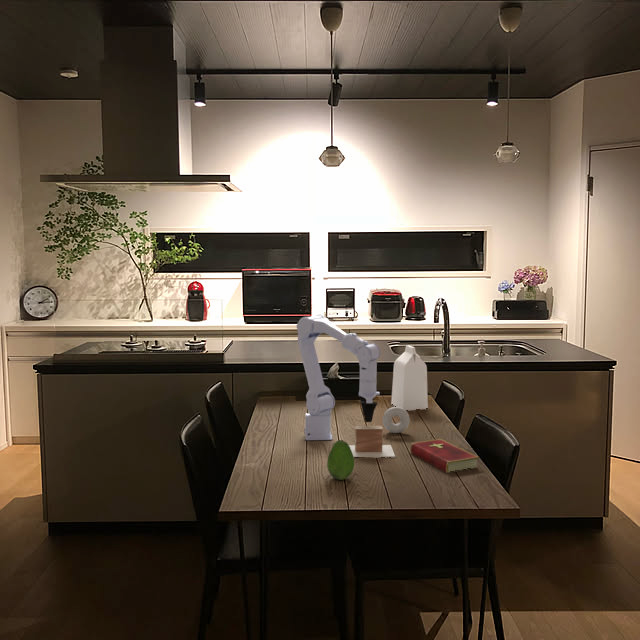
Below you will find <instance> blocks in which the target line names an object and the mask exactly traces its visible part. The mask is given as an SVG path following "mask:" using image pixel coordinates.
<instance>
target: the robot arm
mask: <svg viewBox="0 0 640 640" xmlns="http://www.w3.org/2000/svg"><path fill="white" fill-rule="evenodd" d="M296 330H297V344H298V348H299V349H298V350H299V352H300V356H301V360H302V364H303V367H304V371H305V377H306V379H307V384H308V387H309V388H308V391H307V393H306V395H305V398H306V403H305V404H306V409H307V411H308V412H306V413H305V417H304V418H305V421H304V422H305V423H304V424H305V426H304V430H303V431H304V436H305V438H304V439H305V441H333V436H332V432H331V428H332V426H331V422H332V421H331V418H332V416H331V413H332V409H333V408H334V407H335V404H336V399H335V397H334V396H333V394H332V392H331V389H330V388H329V387H328V386H326V385H325V381H324V379H323V374H322V370H321V366H320V362H319V359H318V355H317V350H316V347H315V342H316V340H317V338H318V337H319V336H321V334H323V333H324V334H325V335H328V336H329V337H331V338H332V339H333V338H334V339H335V340H336V341H339V342H341V345H342V348H344V349H345V350H347V351H348V352H350V353H352V354H353V355H354V356H356V359H357V360H358V365H359V387H358V388H359V391H358V398H359V403H360V405H361V409H362V414H363V417H364V422H365V423H372V421H373V418H374V413H375V410H376V407H377V406H378V402H377V401H374V399H375V398H376V396H380V391H377V373H378V372H377V370H378V369H377V365H378V361H377V360H378V359H379V358H380V356H381V350H380V347H379V346H378V345H377V344H376V343H372V342H371V343H369V341H367V340H365V339H362V338H360V337H359V336H358V334H357V333H354V332H352V333H351V332H350V333H346V332H345V331H344V330H342V329H341V328H339V327H338V326H336V325H335V324H334V323H333V322H331V321H330V320H329V318H328V317H325V316H324V315H322V314H317V315H312V316H303V317H301V318H299V321H297V324H296Z"/></svg>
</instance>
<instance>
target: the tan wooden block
mask: <svg viewBox="0 0 640 640" xmlns="http://www.w3.org/2000/svg"><path fill="white" fill-rule="evenodd" d="M383 431H384V430H383V426H382V425H355V426H354V445H355V451H356V452H382V447H383V445H384V444H383V441H384V439H383V438H384V437H383V435H384V432H383Z"/></svg>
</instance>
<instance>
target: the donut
mask: <svg viewBox="0 0 640 640" xmlns="http://www.w3.org/2000/svg"><path fill="white" fill-rule="evenodd" d="M382 416H383V417H382V424H383V427H384V429H385V430H387V431H388V432H389V433H391V434H392V433H393V434H399V433H402V432H404V431H406V429H407V428H408V427H409V425H410V421H411V419H410V415H409V413H408V411H406V410H405V409H403V408H401V407H395V406H392V407H390V408H388V409H386V410H385V412H384V414H383V415H382ZM394 417H399V418H400V421H399V422H398V423H394V422H393V418H394Z"/></svg>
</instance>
